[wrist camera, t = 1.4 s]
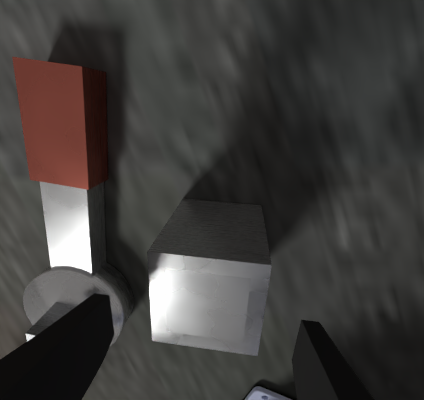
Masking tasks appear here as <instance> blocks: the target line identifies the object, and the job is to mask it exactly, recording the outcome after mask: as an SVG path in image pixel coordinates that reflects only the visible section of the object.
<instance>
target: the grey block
mask: <svg viewBox="0 0 424 400" xmlns="http://www.w3.org/2000/svg"><path fill="white" fill-rule="evenodd" d="M147 255H148V273H149V290H150V308H151V326H152V341H158V342H165V343H172V344H178V345H185V346H192V347H199V348H206V349H213V350H219V351H226V352H233V353H240V354H247V355H254V356H257V355H258V349H259V342H260V336H261V330H262V323H263V317H264V311H265V304H266V298H267V292H268V285H269V279H270V273H271V267H272V264H271V258H270V252H269V247H268V241H267V235H266V229H265V223H264V218H263V212H262V206H261V205H251V204H240V203H228V202H217V201H205V200H194V199H182V200H181V202H180V203H179V205H178V206H177V208H176V209H175V211H174V212H173V214H172V215H171V217H170V218H169V220H168V221H167V223H166V224H165V226H164V227H163V229H162V230H161V232H160V233H159V235H158V236H157V238H156V239H155V241H154V242H153V244H152V245H151V247H150V248H149V250H148V251H147Z"/></svg>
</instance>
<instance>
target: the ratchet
mask: <svg viewBox="0 0 424 400" xmlns="http://www.w3.org/2000/svg"><path fill="white" fill-rule="evenodd" d="M12 58H13V65H14V71H15V78H16V85H17V92H18V99H19V106H20V113H21V120H22V127H23V134H24V140H25V147H26V154H27V161H28V168H29V175H30V180H35V181H40V187H41V195H42V202H43V210H44V218H45V225H46V233H47V241H48V248H49V256H50V264H51V266H49V267H48V268H47V269H46V270H44V271H43V272H42V273H41V274H40V275H38V276H37V277H36V278H35V279H33V280H32V281H31V282H30V283H29V284H28V286H27V287H26V289H25V291H24V295H23V304H24V309H25V312H26V314H27V317H28V318H29V320H30V322H31V323H32V325H33V326H32V327H31V328H30V329H29V330H28V331H27V333H26V338H27V341H29V340H30V339H32V338H33V337H35V336H36V335H37V334H39V333H40V332H42V331H43V330H44V329H46V328H47V327H49V326H50V325H51V324H53V323H54V322H56V321H57V320H58V319H60V318H61V317H62V316H64V315H65V314H67V313H68V312H69V311H71V310H72V309H73V308H75V307H76V306H77V305H79V304H80V303H81V302H83V301H84V300H86V299H87V298H88V297H90V296H91V295H93V294H94V293H97V294H105V295H109V296H110V304H111V311H112V319H113V326H114V334H115V335H114V337H113V339H112V342H111V344H110V346H111V345H112V344H113V343H114V342H115V341H116V340H117V338H118V336H119V334H120V332H121V331H122V329H123V327H124V325H125V323H126V321H127V320H128V318H129V316H130V314H131V312H132V309H133V305H134V298H133V293H132V290H131V287H130V285H129V284H128V282H127V280H126V279H125V278H124V276H123V275H122V274H121V273H120V272H119V271H118V270H117V269H116V268H114V267H113V266H112V265H110V264H109V263H107V262H106V236H105V203H104V181H106V180H108V142H107V99H106V72H102V71H98V70H94V69H90V68H86V67H82V66H75V65H68V64H60V63H53V62H46V61H39V60H31V59H24V58H17V57H12ZM110 346H109V347H110Z"/></svg>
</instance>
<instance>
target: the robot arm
mask: <svg viewBox="0 0 424 400" xmlns="http://www.w3.org/2000/svg"><path fill="white" fill-rule="evenodd" d="M114 335H115V334H114V326H113V319H112V311H111V304H110V296H109V295H105V294H97V293H94V294H93V295H91V296H90V297H88V298H87V299H86V300H84V301H83V302H81V303H80V304H79V305H77V306H76V307H75V308H73V309H72V310H71V311H69V312H68V313H67V314H65V315H64V316H62V317H61V318H60V319H58V320H57V321H56V322H54V323H53V324H51V325H50V326H49V327H47V328H46V329H44V330H43V331H42V332H40V333H39V334H37V335H36V336H35V337H33V338H32V339H30V340H29V341H27V342H26V343H24V344H23V345H21V346H20V347H18V348H17V349H15V350H14V351H12V352H11V353H9V354H8V355H6V356H5V357H4V358H2V359H1V360H0V400H82V398H83V396H84V394H85V393H86V391H87V389H88V387H89V386H90V384H91V382H92V380H93V379H94V377H95V375H96V373H97V371H98V370H99V368H100V366H101V364H102V362H103V360H104V358H105V356H106V353H107V351H108V349H109V346H110V344H111V342H112V339H113V337H114ZM292 364H293V373H294V382H295V390H296V396H297V400H374V398H373V397H372V396H371V394H370V393H369V392H368V390H367V389H366V388H365V386H364V385H363V384H362V382H361V381H360V380H359V378H358V377H357V375H356V374H355V373H354V371H353V370H352V369H351V367H350V366H349V364H348V363H347V362H346V360H345V359H344V357H343V356H342V354H341V353H340V352H339V350H338V349H337V347H336V346H335V344H334V343H333V341H332V340H331V338H330V337H329V335H328V334H327V332H326V331H325V329H324V328H323V327H322V325H321V324H320V323H319V322H314V321H306V320H301V324H300V328H299V332H298V336H297V341H296V345H295V349H294V354H293V358H292ZM245 400H292V399H289V398H287V397H285V396H282V395H280V394H277V393H275V392H272V391H270V390H268V389H265V388H263V387H260V386H257V387H254V388H253V389H252V391H251V392H250V393H249V394H248V396H247V397H246V398H245Z"/></svg>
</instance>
